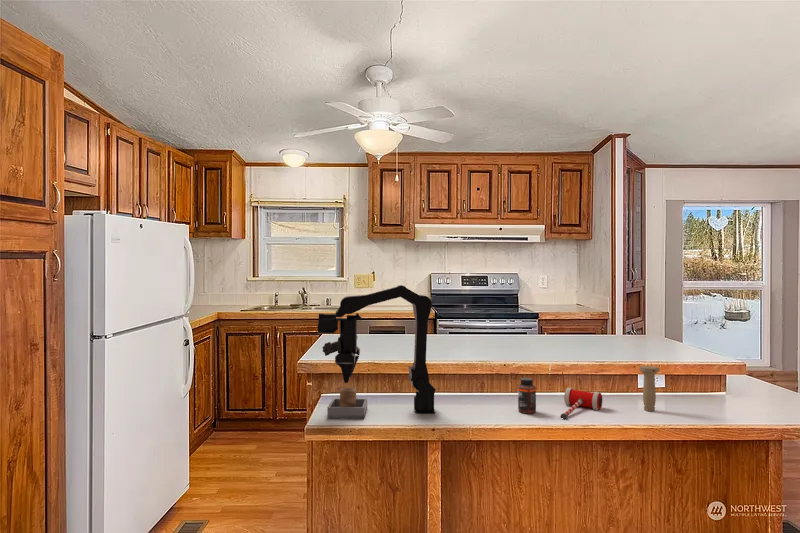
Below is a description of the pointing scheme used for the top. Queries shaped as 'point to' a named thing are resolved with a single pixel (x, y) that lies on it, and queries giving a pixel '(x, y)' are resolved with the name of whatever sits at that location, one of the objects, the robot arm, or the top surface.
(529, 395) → the supplement bottle
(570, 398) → the toy hammer
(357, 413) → the grey square tray
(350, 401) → the walnut block
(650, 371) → the handle
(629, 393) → the top surface
